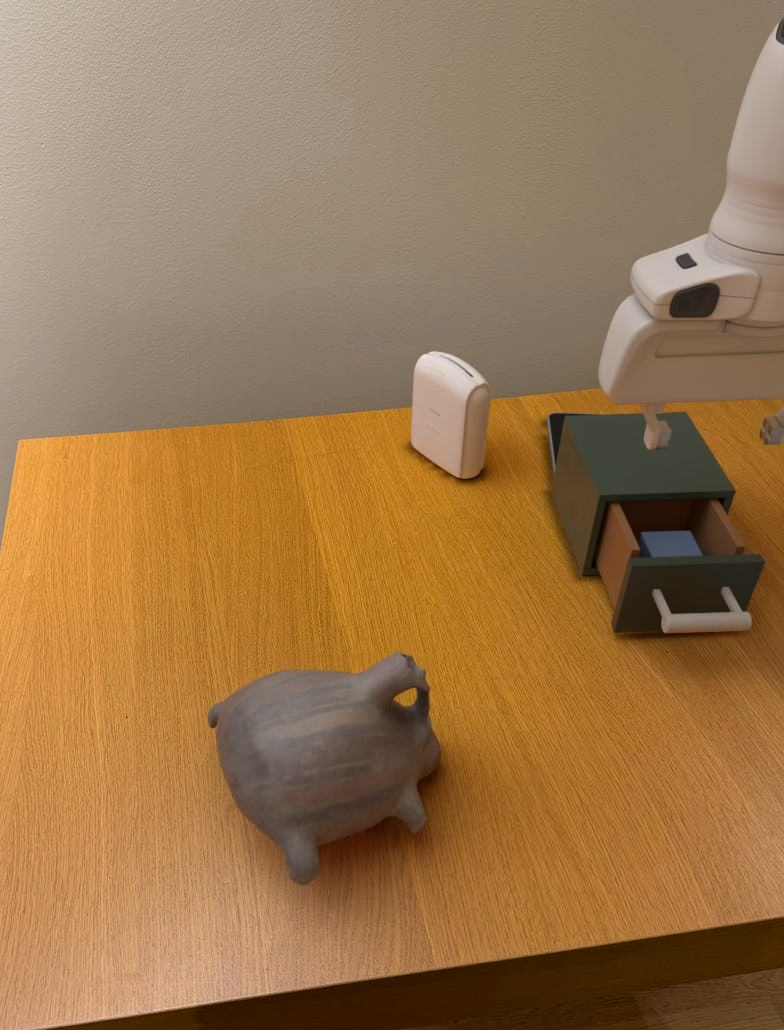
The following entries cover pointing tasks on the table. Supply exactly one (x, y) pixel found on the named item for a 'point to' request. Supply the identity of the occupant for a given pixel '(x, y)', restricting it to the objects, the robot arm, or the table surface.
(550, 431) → the smartphone
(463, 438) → the photo printer
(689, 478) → the cabinet
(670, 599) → the drawer
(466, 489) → the table surface
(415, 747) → the piggy bank
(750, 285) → the robot arm
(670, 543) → the block
